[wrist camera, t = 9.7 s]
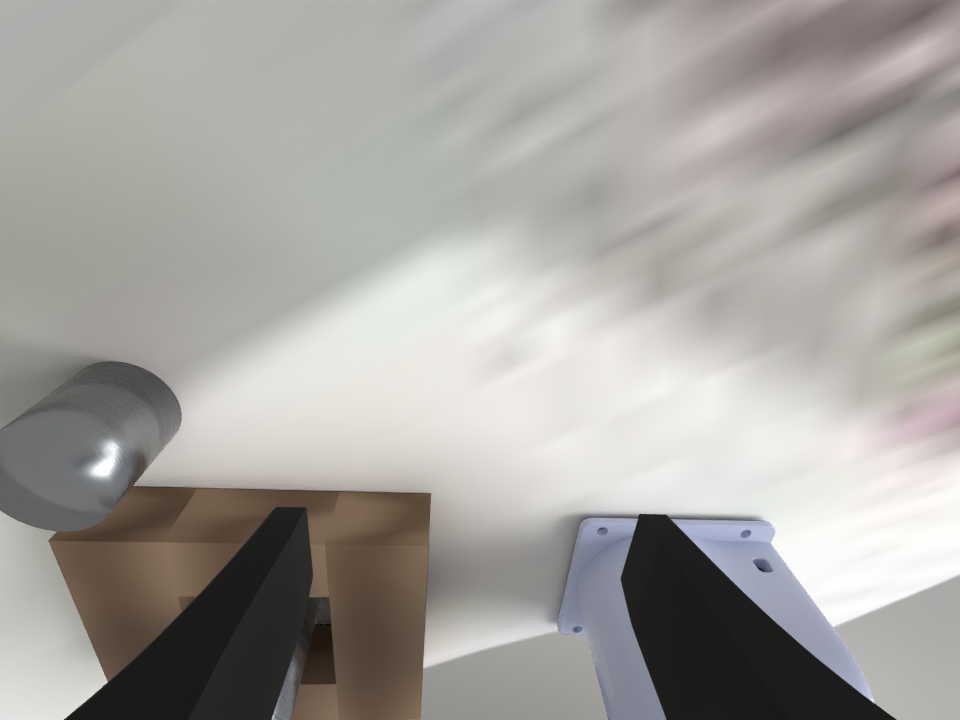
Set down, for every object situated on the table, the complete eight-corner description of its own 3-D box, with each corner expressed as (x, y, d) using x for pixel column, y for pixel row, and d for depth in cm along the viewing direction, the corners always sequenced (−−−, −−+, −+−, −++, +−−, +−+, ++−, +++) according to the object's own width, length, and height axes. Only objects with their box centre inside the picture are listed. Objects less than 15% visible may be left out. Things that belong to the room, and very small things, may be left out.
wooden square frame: (430, 493, 22) (428, 546, 20) (423, 660, 28) (420, 719, 25) (99, 485, 21) (48, 540, 18) (158, 661, 27) (125, 724, 24)
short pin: (170, 363, 19) (96, 433, 15) (189, 449, 21) (127, 532, 17) (57, 359, 19) (-51, 429, 15) (87, 447, 20) (-2, 530, 16)
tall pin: (325, 554, 24) (278, 730, 17) (324, 610, 25) (281, 789, 19) (237, 549, 23) (153, 727, 17) (242, 607, 25) (168, 789, 18)
